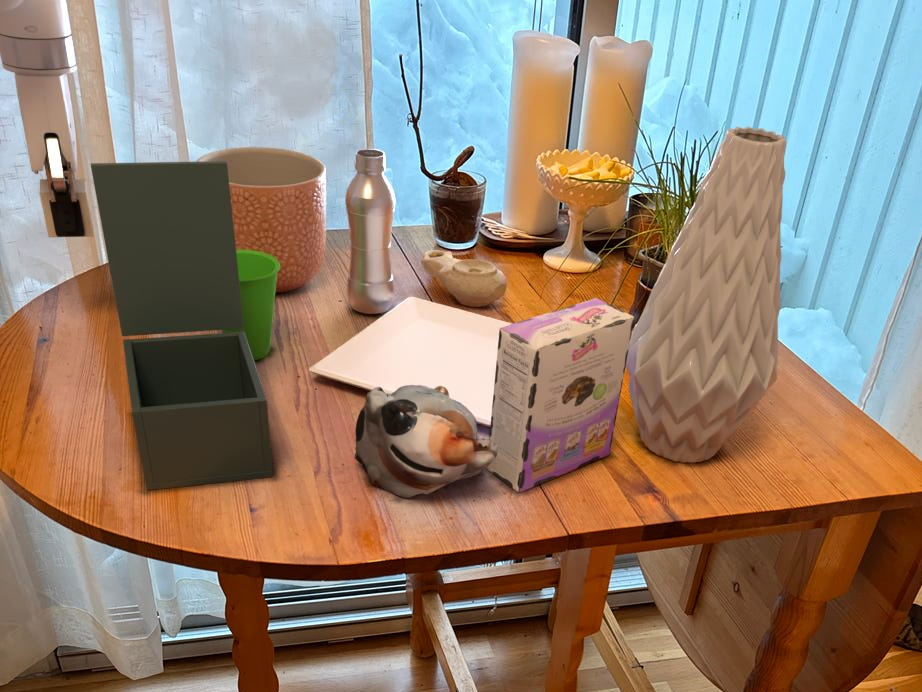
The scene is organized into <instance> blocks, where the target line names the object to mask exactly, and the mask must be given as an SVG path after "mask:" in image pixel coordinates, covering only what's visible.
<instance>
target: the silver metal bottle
mask: <svg viewBox="0 0 922 692" xmlns="http://www.w3.org/2000/svg"><path fill="white" fill-rule="evenodd" d="M354 169H355V171H356V174H355V175H354V176H353V178H352V180H351V181H350V183H349V185H348V186H347V188H346V190H345V194H344V199H345V200H344V201H345V203H344V204H345V209H346V216H347V223H348V227H349V228H348V229H349V240H350V243H349V246H350V255H349V258H350V259H349V274H348V277H347V282H346V283H347V284H346V296H347V300H348V303H349V305H350V306H351V308H352V309H353V310H355V311H356V312H359V313H362V314H367V315H376V314H382V313H385V312H387V311H389V310H390V308H391V307H392V306H393V303H394V300H395V294H396V287H395V281H394V275H393V269H392V255H391V254H392V253H391V248H392V243H391V242H392V230H393V223H394V216H395V208H396V196H395V192H394V189H393V187H392V185H391V183H390V182H389V181H388V179H387V177H386V176H385V175H384V172H385V171H386V169H387V166H386V153H385V152H384V151H383V150H380V149H375V148H362V149H358V150H357V151H356V152H355V162H354Z"/></svg>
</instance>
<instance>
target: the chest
mask: <svg viewBox="0 0 922 692" xmlns="http://www.w3.org/2000/svg"><path fill="white" fill-rule="evenodd" d="M122 344H123V350H124V351H123V352H124V360H125V367H126V368H125V369H126V377H127V385H128V391H129V399H130V409H131V414H132V419H133V420H132V421H133V425H134V430H135V436H136V441H137V446H138V451H139V457H140V462H141V467H142V473H143V477H144V483H145V488H146V491H155V490H156V491H157V490H164V489H174V488H183V487H193V486H201V485H211V484H219V483H220V484H221V483H228V482H238V481H247V480H256V479H264V478H265V479H266V478H273V477H274V471H273V470H274V469H273V458H272V445H271V434H270V433H271V432H270V419H269V409H268V399H267V397H266V396H267V395H266V393H265V390H264V388H263V384H262V381H261V378H260V376H259V373H258V369H257V366H256V362H255V360H253V357H252V354H251V351H250V348H249V345H248V342H247V339H246V336H245V333H244V332H232V333H222V332H219V333H205V334H204V333H203V334H188V335H173V336H159V337H158V336H156V337H145V338H143V337H142V338H127V339H122Z"/></svg>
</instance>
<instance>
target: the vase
mask: <svg viewBox="0 0 922 692" xmlns="http://www.w3.org/2000/svg"><path fill="white" fill-rule="evenodd" d="M786 148H787V139H786V138H785V137H784V135H783V134H777V133H776V131H775V130H774V131H767V130H765V129H764V128H762V127H761V128H756V129H755V128H753V127H750V126H746V127H744V128H743V127H739V126H735V127H734V128H728V129H727V131H726V134H725V137H724V139H723V140H722V142H720V143H719V147H718V150H717V152H716V153H715V154H716V155H715V156H714V158H713V161H712V162H711V164H710V168H709V170H708V171H707V173H706V174H705V176H704V177H703V180H702V182H701V185H700V187H699V190H698V194H697V196H696V199H695V202H694V204H693V206H692V207H691V209H690V210H689V213H688V215H687V218H686V219H685V222H684V224H683V226H682V227H681V230H680V232H679V234H678V236H677V238H676V240H675V241H674V244H673V245H672V247H671V249H670V252H669V254H668V257H667V258H666V261H665V262H664V265H663V267H662V269H661V270H660V273H659V275H658V277H657V279H656V282H655V284H654V285H653V288H652V289H651V291H650V294H649V296H648V299H647V301H646V303H645V306H644V308H643V311H642V312H641V315H640V317H639V319H638V321H637V323H636V324H635V325H634V326H633V327H634V328H632V333H631V339H630V344H629V351H628V356H627V362H626V367H625V369H626V371H627V374H628V376H629V382H628V392H629V396H630V400H631V405H632V409H633V415H634V418H635V423H636V425H637V426H638V431H639V436H640V439H641V442H642V443H643V445H644V447H645V448H648V450H649V451H650V452H652V453H654V454H655V455H656V456H658V457H662V458H664V459H668V460H670V461H672V462H679V463H682V464H683V463H692V464H695V463H701V462H703V461H707V460H710V459H711V458H713V457H715V455H716V454H717V453H718V452H719V450H721V448H722V447H723V445H724V443H725V442H727V441H729V440H732V439H734V437H736V434H737V433H738V432H739V430H740V429H741V427H742V426H743V424H744V423H745V422H746V420H747V419H748V418H749V416H751V414H752V413H753V411H755V409H756V406H757V404H758V403H759V402H760V401H761V400H762V399H763V398H764V397H765V395H766V393H767V392H768V391H769V390H770V388H771V387H773V385H775V383H776V382H777V380H778V373H779V372H778V371H779V315H780V311H781V299H782V298H781V297H782V296H781V263H782V242H781V239H782V237H781V236H782V233H781V232H782V231H781V225H782V224H781V223H782V218H783V215H782V214H783V195H784V193H783V192H784V191H783V190H784V187H783V186H784V183H785V179H786V170H785V169H786V168H785V155H786Z"/></svg>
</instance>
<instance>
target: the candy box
mask: <svg viewBox="0 0 922 692" xmlns="http://www.w3.org/2000/svg"><path fill="white" fill-rule="evenodd" d="M634 321H635V316H634V315H632V314H629V313H627V312H625V311H624V310H622V309H619V308H618V307H616V306H613V305H611V304H609V303H607V302H605V301H603V300H601V299H599V298H597V297H595V298H592V299H589V300H586V301H583V302H580V303H576V304H573V305H570V306H567V307H564V308H561V309H557V310H553V311H551V312H546V313H544V314H540V315H537V316H534V317H530V318H527V319H523V320H520V321H518V322H517V321H516V322H513V323H512V324H510V325H506V326H503V327H500V330H499V341H498V352H497V362H496V372H495V384H494V395H493V404H492V416H491V426H490V427H489V435H488V439H490V440H491V441H492V442H493V443H494V445H496V444H498V450H497V456H496V458H495V459H494V460H493V461H492V462H491V464H490V465H488V466H486V467H485V468H486V470H487V471H489V472H490V473H491V474H492V475H494V476H495V477H496V478H497V479H499V480H501V481H502V482H503V483H505V484H506V486H508V487H510V488H511V489H512V490H514V491H515V492H517V493H522V492H524V491H527V490H530V489H532V488H534V487H537V486H539V485H541V484H543V483H547V482H549V481H551V480H553V479H556V478H557V477H560V476H563V475H565V474H567V473H569V472H572V471H574V470H577V469H579V468H582V467H584V466H586V465H588V464H590V463H593V462H596V461H598V460H600V459H602V458H605V457H607V456H609V455H610V454H611V449H612V443H613V438H614V433H615V432H614V431H615V428H616V421H617V415H618V410H619V409H618V408H619V405H620V404H619V403H620V399H621V394H622V388H623V383H624V379H625V378H624V377H625V372H626V362H627V356H628V351H629V344H630V339H631V335H632V332H633V329H634V328H633V327H634Z"/></svg>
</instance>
